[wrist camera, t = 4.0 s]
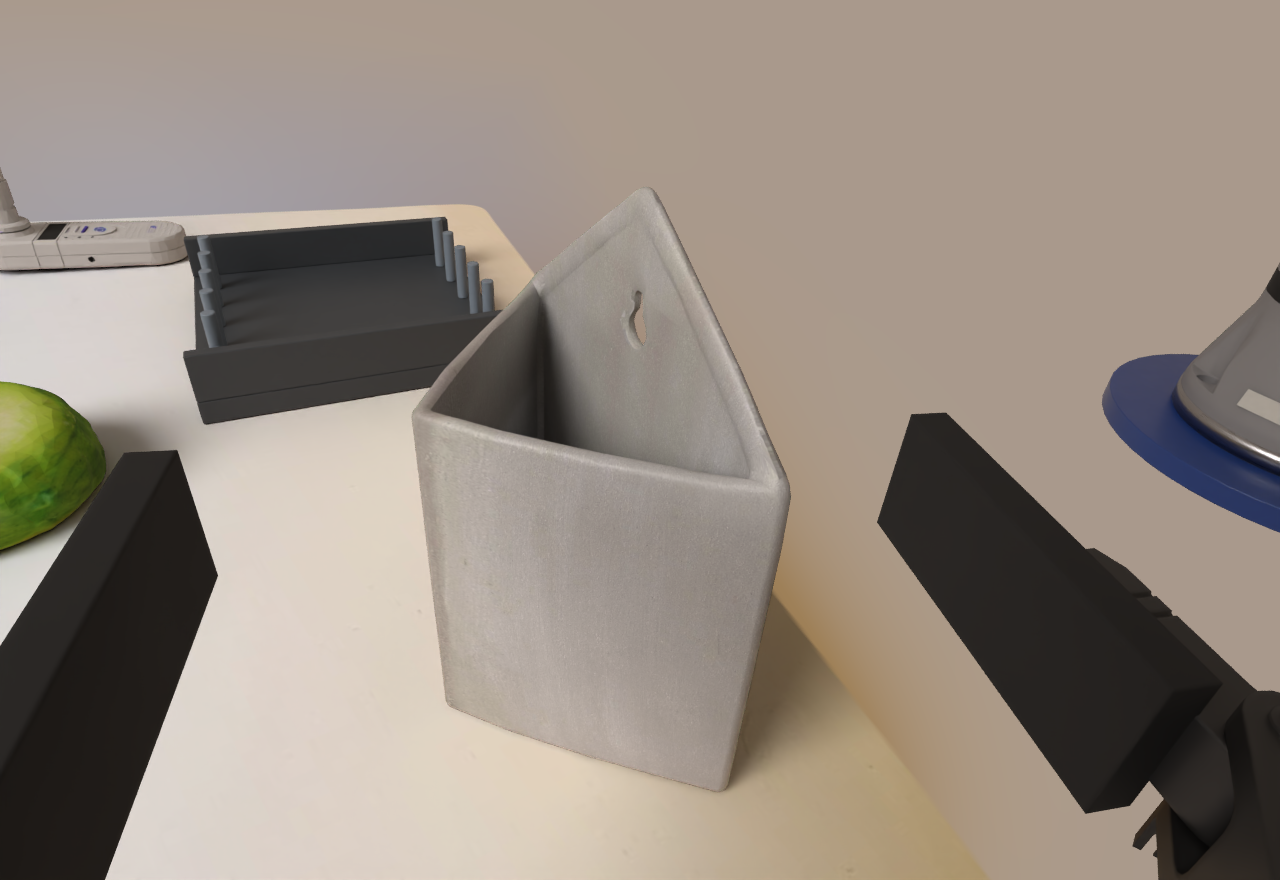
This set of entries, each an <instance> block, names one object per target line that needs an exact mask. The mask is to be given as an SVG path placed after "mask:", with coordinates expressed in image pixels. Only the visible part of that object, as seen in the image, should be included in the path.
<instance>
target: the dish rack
mask: <svg viewBox="0 0 1280 880" xmlns="http://www.w3.org/2000/svg"><path fill="white" fill-rule="evenodd" d="M184 244H185V247H186V251H187V255H188V258H189V262H190V265H191V269H192V273H193V276H194V296H195V333H196V350H190V351H184V352H183V358H184V361H185V365H186V368H187V371H188V375H189V378H190V381H191V384H192V388H193V391H194V394H195V398H196V401H197V404H198V407H199V411H200V414H201V417H202V421H203V423H204V424H209V423H215V422H221V421H227V420H233V419H239V418H245V417H251V416H257V415H263V414H269V413H275V412H281V411H287V410H293V409H299V408H305V407H311V406H317V405H323V404H329V403H335V402H341V401H347V400H353V399H359V398H365V397H371V396H377V395H383V394H389V393H395V392H401V391H407V390H413V389H419V388H425V387H431V386H432V385H433V384H434V382H435V381H436V380H437V378H438V377H439V376H440V374H441V373H442V372H443V370H444V369H445V368H446V367H447V366H448V365H449V364H450V363H451V362H452V361H453V360H454V359H455V358H456V357H457V356H458V355H459V354H460V353H461V352H462V351H463V350H464V349H465V347H466V346H467V345H468V344H469V343H470V342H471V341H472V340H473V339H474V338H475V337H476V336H477V335H478V334H479V333H480V332H481V331H482V330H483V329H484V328H485V327H486V326H487V325H488V324H489V323H490V322H491V321H492V320H493V319H494V318H495V317H496V316H497V315H498V314H499V313H501V312H502V311H503V310H497V311H495V310H494V287H493V280H492V279H483V280H482V281H481V284H482V295H481V293H480V281H479V264H478V262H475V261H471V262H468V263H467V268H466V252H465V246H462V245H457V246H455V247H454V239H453V232H452V231H448V223H447V219H446V218H445V217H435V218H423V219H410V220H396V221H383V222H370V223H357V224H344V225H330V226H317V227H304V228H291V229H277V230H264V231H251V232H238V233H225V234H211V235H198V236H185V237H184ZM454 250H455V253H454ZM467 269H468V276H467Z"/></svg>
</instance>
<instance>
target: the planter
mask: <svg viewBox="0 0 1280 880" xmlns="http://www.w3.org/2000/svg"><path fill="white" fill-rule="evenodd" d="M641 294H643V318H644V323H645V327H646V340H645V343H644V345H643V344H642V343H641V341H640V339H639V338H638V336H637V332H636V329H635V323H634V318H635V314H636V312H637V311H638V309H639V308H640V304H641ZM412 424H413V432H414V440H415V448H416V457H417V465H418V473H419V482H420V491H421V499H422V508H423V516H424V525H425V533H426V542H427V551H428V559H429V568H430V576H431V584H432V592H433V600H434V608H435V616H436V624H437V632H438V640H439V648H440V656H441V664H442V672H443V680H444V689H445V698H446V702H447V703H448V705H449V706H450V707H452V708H455V709H457V710H460V711H462V712H465V713H467V714H470V715H472V716H475V717H477V718H479V719H482V720H484V721H487V722H489V723H492V724H494V725H497V726H499V727H502V728H504V729H507V730H509V731H512V732H515V733H518V734H521V735H524V736H527V737H531V738H534V739H537V740H540V741H543V742H546V743H549V744H552V745H555V746H558V747H561V748H564V749H567V750H570V751H573V752H577V753H580V754H583V755H586V756H589V757H592V758H596V759H599V760H603V761H607V762H610V763H614V764H617V765H621V766H625V767H628V768H632V769H635V770H639V771H643V772H646V773H650V774H653V775H657V776H660V777H664V778H668V779H671V780H675V781H679V782H682V783H686V784H690V785H693V786H697V787H701V788H705V789H708V790H712V791H716V792H720V791H723V790H724V789H725V788H726V787H727V785H728V783H729V778H730V774H731V769H732V765H733V761H734V756H735V752H736V747H737V743H738V739H739V734H740V730H741V725H742V721H743V717H744V712H745V708H746V703H747V699H748V695H749V690H750V686H751V681H752V677H753V673H754V668H755V664H756V659H757V655H758V651H759V646H760V642H761V637H762V633H763V628H764V624H765V620H766V615H767V611H768V606H769V602H770V597H771V593H772V589H773V584H774V580H775V575H776V571H777V566H778V562H779V558H780V553H781V549H782V543H783V538H784V532H785V526H786V521H787V515H788V510H789V505H790V499H791V495H790V485H789V482H788V479H787V476H786V473H785V471H784V468H783V466H782V464H781V462H780V460H779V457H778V455H777V453H776V451H775V448H774V446H773V444H772V442H771V440H770V437H769V435H768V433H767V430H766V428H765V425H764V423H763V420H762V418H761V416H760V413H759V411H758V408H757V406H756V404H755V401H754V399H753V396H752V394H751V392H750V389H749V387H748V385H747V382H746V380H745V378H744V375H743V373H742V371H741V369H740V366H739V364H738V362H737V360H736V358H735V356H734V354H733V352H732V350H731V347H730V345H729V343H728V341H727V339H726V337H725V335H724V333H723V330H722V328H721V326H720V324H719V322H718V320H717V318H716V316H715V313H714V312H713V309H712V307H711V305H710V303H709V301H708V299H707V296H706V294H705V292H704V290H703V288H702V286H701V284H700V282H699V279H698V277H697V275H696V273H695V271H694V269H693V267H692V265H691V262H690V261H689V258H688V256H687V254H686V252H685V250H684V248H683V246H682V244H681V241H680V239H679V237H678V235H677V233H676V231H675V229H674V227H673V225H672V223H671V221H670V219H669V217H668V215H667V213H666V210H665V208H664V206H663V204H662V202H661V200H660V199H659V197H658V195H657V194H656V192H655V191H654V190H653V189H652V188H650V187H643V188H640V189H639V190H637V191H636V192H634V193H633V194H632V195H631V196H629V197H628V198H627V199H626V200H624V201H623V202H622V203H621V204H619V205H618V206H617V207H616V208H614V209H613V210H612V211H611V212H610V213H608V214H607V215H606V216H605V217H604V218H602V219H601V220H600V221H599V222H598V223H596V224H595V225H594V226H593V227H591V228H590V229H589V230H588V231H586V232H585V233H584V234H583V235H582V236H580V237H579V238H578V239H577V240H576V241H574V242H573V243H572V244H571V245H570V246H569V247H567V248H566V249H565V250H564V251H563V252H562V253H561V254H560V255H559V256H557V257H556V258H555V259H554V260H553V261H552V262H551V263H549V264H548V265H547V266H545V267H544V268H543V269H541V270H540V271H538V272H537V273H536V274H535V275H534V277H533V278H532V279H531V281H530V282H529V283H528V284H527V286H526V287H525V288H524V289H523V290H522V291H521V292H520V293H519V295H518V296H517V297H516V298H515V299H514V300H513V301H512V302H511V303H510V304H509V305H508V306H507V307H506V308H505V309H504V310H503V311H502V312H501V313H499V314H498V315H497V316H496V317H495V318H494V319H493V320H492V321H491V322H490V323H489V324H488V325H487V326H486V327H485V328H484V329H483V330H482V331H481V332H480V333H479V334H478V335H477V336H476V337H475V338H474V339H473V340H472V341H471V342H470V343H469V344H468V345H467V346H466V347H465V349H464V350H463V351H462V352H461V353H460V354H459V355H458V356H457V357H456V358H455V359H454V360H453V361H452V362H451V363H450V364H449V365H448V366H447V367H446V368H445V369H444V370H443V372H442V373H441V374H440V376H439V377H438V378H437V380H436V381H435V382H434V384H433V385H432V386H431V388H430V389H429V391H428V392H427V393H426V395H425V396H424V397H423V399H422V400H421V401H420V403H419V404H418V405H417V407H416V408H415V409H414V411H413V414H412Z"/></svg>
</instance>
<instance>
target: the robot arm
mask: <svg viewBox="0 0 1280 880" xmlns="http://www.w3.org/2000/svg"><path fill="white" fill-rule="evenodd" d="M1172 403H1173V405H1174V407H1175V409H1176V411H1177V412H1178V414H1179V415H1180V416H1181V417H1182V419H1183V420H1184V421H1185V422H1186V423H1187V424H1188V425H1189V426H1191V427H1192V428H1193V429H1194V430H1195V431H1196V432H1198V433H1199V434H1200V435H1202V436H1203V437H1204V438H1206V439H1207V440H1209V441H1210V442H1212V443H1213V444H1215V445H1216V446H1218V447H1220V448H1221V449H1223V450H1225V451H1227V452H1228V453H1230V454H1232V455H1234V456H1236V457H1237V458H1239V459H1241V460H1243V461H1245V462H1247V463H1249V464H1252V465H1254V466H1256V467H1258V468H1260V469H1263V470H1265V471H1267V472H1270V473H1272V474H1274V475H1277V476H1279V477H1280V263H1279V265H1278V267H1277V269H1276V271H1275V273H1274V274H1273V276H1272V278H1271V280H1270V281H1269V283H1268V285H1267V287H1266V289H1265V290H1264V292H1263V293H1262V295H1261V296H1260V298H1259V299H1258V300H1257V301H1256V303H1255V304H1253V305H1252V306H1251V307H1250V308H1249V309H1248V310H1247V311H1246V312H1245V313H1244V314H1243V315H1242V316H1241V317H1239V318H1238V319H1237V320H1236V321H1235V322H1234V323H1233V324H1232V325H1231V326H1230V327H1229V328H1228V329H1227V330H1225V331H1224V332H1223V333H1222V334H1221V335H1220V336H1219V337H1218V338H1217V339H1216V340H1215V341H1214V342H1212V343H1211V344H1210V345H1209V346H1208V347H1207V348H1206V349H1205V350H1204V351H1203V352H1202V353H1201V354H1200V355H1198V356H1197V357H1196V358H1195V359H1194V360H1193V361H1192V362H1191V363H1190V365H1189V366H1188V367H1187V369H1186V370H1185V372H1183V374H1182V375H1181V377H1180V379H1179V381H1178V383H1177V384H1176V386H1175V388H1174V390H1173V393H1172ZM877 523H878V524H879V526H880V527H881V528H882V530H883V531H884V532H885V534H886V535H887V537H888V538H889V540H890V541H891V542H892V544H893V545H894V547H895V548H896V549H897V551H898V552H899V554H900V555H901V556H902V558H903V559H904V561H905V562H906V563H907V565H908V566H909V568H910V569H911V570H912V572H913V573H914V575H915V576H916V577H917V579H918V580H919V582H920V583H921V584H922V586H923V587H924V588H925V590H926V591H927V593H928V594H929V595H930V597H931V598H932V600H933V601H934V602H935V604H936V605H937V607H938V608H939V609H940V611H941V612H942V614H943V615H944V616H945V618H946V619H947V621H948V622H949V623H950V625H951V626H952V628H953V629H954V630H955V632H956V633H957V635H958V636H959V637H960V639H961V640H962V642H963V643H964V644H965V646H966V647H967V649H968V650H969V651H970V653H971V654H972V656H973V657H974V658H975V660H976V661H977V663H978V664H979V665H980V667H981V668H982V670H983V671H984V672H985V674H986V675H987V676H988V678H989V679H990V681H991V682H992V683H993V685H994V686H995V688H996V689H997V690H998V692H999V693H1000V695H1001V696H1002V698H1003V699H1004V700H1005V702H1006V703H1007V704H1008V706H1009V707H1010V709H1011V710H1012V711H1013V713H1014V714H1015V716H1016V717H1017V718H1018V720H1019V721H1020V723H1021V724H1022V725H1023V727H1024V728H1025V730H1026V731H1027V732H1028V734H1029V735H1030V737H1031V738H1032V739H1033V741H1034V742H1035V744H1036V745H1037V746H1038V748H1039V749H1040V751H1041V752H1042V753H1043V755H1044V756H1045V758H1046V759H1047V760H1048V762H1049V763H1050V765H1051V766H1052V767H1053V769H1054V770H1055V771H1056V773H1057V774H1058V776H1059V777H1060V779H1061V780H1062V781H1063V783H1064V784H1065V786H1066V787H1067V788H1068V790H1069V791H1070V793H1071V794H1072V795H1073V797H1074V798H1075V800H1076V801H1077V802H1078V804H1079V805H1080V807H1081V808H1082V809H1083V811H1084V812H1085V813H1086V814H1087V813H1092V812H1098V811H1103V810H1109V809H1114V808H1120V807H1126V806H1130V805H1131V803H1132V802H1133V801H1134V800H1135V798H1136V797H1137V796H1138V794H1139V793H1140V792H1141V791H1142V789H1143V788H1144V787H1145V785H1146V784H1147V783H1148V781H1150V782H1151V783H1152V784H1153V786H1154V787H1155V788H1156V789H1157V791H1158V792H1159V793H1160V794H1161V795H1162V797H1163V798H1164V800H1163V801H1162V802H1161V803H1160V805H1159V806H1158V807H1157V808H1156V810H1155V811H1154V812H1153V813H1152V815H1151V816H1150V817H1149V819H1148V820H1147V821H1146V822H1145V823H1144V825H1143V826H1142V827H1141V828H1140V830H1139V831H1138V832H1137V833H1136V835H1135V839H1134V842H1133V847H1135V848H1137V849H1139V850H1141V849H1142V848H1143V847H1144V846H1145V844H1146V843H1147V842H1148V841H1149V840H1150V838H1151V837H1152V836H1153V835H1154V834H1156V838H1157V850H1156V851H1155V852H1154V853H1153V856H1155V857H1157V859H1158V877H1159V878H1158V879H1159V880H1280V693H1279V692H1275V691H1257V690H1256V689H1254V688H1253V687H1252V686H1251V685H1250V684H1249V683H1248V682H1247V681H1246V680H1244V679H1243V678H1242V677H1241V676H1240V675H1239V674H1238V673H1237V672H1236V671H1235V670H1234V669H1233V668H1232V667H1231V666H1230V665H1228V664H1227V663H1226V662H1225V661H1224V660H1223V659H1222V658H1221V657H1220V656H1219V655H1218V654H1217V653H1216V652H1215V651H1214V650H1213V649H1211V647H1209V645H1207V644H1206V643H1205V642H1204V641H1203V640H1202V639H1201V638H1200V637H1199V636H1198V635H1197V634H1196V633H1195V632H1194V631H1193V630H1191V628H1189V627H1188V626H1187V625H1186V624H1185V623H1184V622H1183V621H1182V620H1181V619H1180V618H1179V617H1178V616H1173V615H1172V613H1171V612H1172V610H1170V609H1169V608H1168V607H1167V606H1166V605H1165V604H1164V603H1163V602H1162V601H1161V600H1160V599H1159V598H1158V597H1157V596H1154V597H1153V596H1152V595H1151V591H1150V590H1149V589H1148V588H1147V587H1146V586H1145V585H1144V584H1143V583H1142V582H1141V581H1140V580H1139V579H1137V577H1136V576H1134V575H1133V574H1132V573H1131V572H1130V571H1129V570H1128V569H1127V568H1126V567H1124V566H1123V565H1121V564H1119V563H1118V562H1116V561H1114V560H1113V559H1111V558H1110V557H1108V556H1106V555H1105V554H1103V553H1101V552H1100V551H1098V550H1096V549H1095V548H1092V549H1085V548H1084V547H1083V546H1082V545H1081V544H1080V543H1079V542H1078V541H1077V540H1076V539H1075V538H1074V537H1073V536H1072V535H1071V534H1070V533H1068V531H1067V530H1066V529H1065V528H1063V526H1061V524H1059V523H1058V522H1057V521H1056V520H1055V519H1054V518H1053V517H1052V516H1051V515H1050V514H1049V513H1048V512H1047V511H1046V510H1045V509H1044V508H1043V507H1042V506H1041V505H1040V504H1039V503H1038V502H1037V501H1036V500H1035V499H1034V498H1033V497H1032V496H1031V495H1030V494H1029V493H1028V492H1026V490H1025V489H1024V488H1023V487H1022V486H1021V485H1020V484H1018V482H1016V481H1015V480H1014V479H1013V478H1012V477H1011V476H1010V475H1009V474H1008V473H1007V472H1006V471H1005V470H1004V469H1003V468H1002V467H1001V466H1000V465H999V464H998V463H997V462H996V461H995V460H994V459H993V458H992V457H991V456H990V455H989V454H988V453H987V452H986V451H985V450H984V449H983V448H982V447H981V446H980V445H979V444H978V443H977V442H976V441H975V440H974V439H972V438H971V437H970V436H969V435H968V434H967V433H966V432H965V431H964V430H963V429H962V428H961V427H960V426H959V425H958V424H957V423H956V422H955V421H954V420H953V419H952V418H951V417H950V416H949V415H948V414H947V413H929V414H912V415H911V417H910V421H909V424H908V427H907V430H906V433H905V436H904V439H903V442H902V446H901V449H900V452H899V455H898V458H897V461H896V464H895V468H894V471H893V474H892V477H891V480H890V483H889V487H888V490H887V493H886V496H885V499H884V502H883V505H882V509H881V512H880V515H879V518H878V521H877ZM217 577H218V574H217V571H216V568H215V565H214V562H213V559H212V556H211V553H210V549H209V546H208V543H207V540H206V537H205V534H204V531H203V528H202V525H201V522H200V519H199V516H198V512H197V509H196V506H195V503H194V500H193V497H192V494H191V491H190V488H189V485H188V482H187V479H186V475H185V472H184V469H183V466H182V463H181V460H180V457H179V454H178V451H177V450H170V451H150V452H129V453H124V454H123V455H122V457H121V458H120V460H119V462H118V463H117V465H116V466H115V468H114V469H113V471H112V472H111V474H110V476H109V477H108V479H107V480H106V482H105V483H104V485H103V486H102V488H101V490H100V491H99V493H98V494H97V496H96V497H95V499H94V501H93V502H92V504H91V505H90V507H89V508H88V510H87V511H86V513H85V515H84V516H83V518H82V519H81V521H80V522H79V524H78V525H77V527H76V529H75V530H74V532H73V533H72V535H71V536H70V538H69V540H68V541H67V543H66V544H65V546H64V547H63V549H62V550H61V552H60V554H59V555H58V557H57V558H56V560H55V561H54V563H53V564H52V566H51V568H50V569H49V571H48V572H47V574H46V575H45V577H44V579H43V580H42V582H41V583H40V585H39V586H38V588H37V589H36V591H35V593H34V594H33V596H32V597H31V599H30V600H29V602H28V603H27V605H26V607H25V608H24V610H23V611H22V613H21V614H20V616H19V618H18V619H17V621H16V622H15V624H14V625H13V627H12V628H11V630H10V632H9V633H8V635H7V636H6V638H5V639H4V641H3V642H2V644H1V646H0V880H105V878H106V875H107V873H108V870H109V867H110V865H111V862H112V859H113V857H114V854H115V851H116V848H117V846H118V843H119V840H120V838H121V835H122V832H123V830H124V827H125V824H126V822H127V819H128V816H129V814H130V811H131V808H132V805H133V803H134V800H135V797H136V795H137V792H138V789H139V787H140V784H141V781H142V779H143V776H144V773H145V771H146V768H147V765H148V762H149V760H150V757H151V754H152V752H153V749H154V746H155V744H156V741H157V738H158V736H159V733H160V730H161V727H162V725H163V722H164V719H165V717H166V714H167V711H168V709H169V706H170V703H171V701H172V698H173V695H174V693H175V690H176V687H177V684H178V682H179V679H180V676H181V674H182V671H183V668H184V666H185V663H186V660H187V658H188V655H189V652H190V650H191V647H192V644H193V641H194V639H195V636H196V633H197V631H198V628H199V625H200V623H201V620H202V617H203V615H204V612H205V609H206V606H207V604H208V601H209V598H210V596H211V593H212V590H213V588H214V585H215V582H216V580H217Z"/></svg>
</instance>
